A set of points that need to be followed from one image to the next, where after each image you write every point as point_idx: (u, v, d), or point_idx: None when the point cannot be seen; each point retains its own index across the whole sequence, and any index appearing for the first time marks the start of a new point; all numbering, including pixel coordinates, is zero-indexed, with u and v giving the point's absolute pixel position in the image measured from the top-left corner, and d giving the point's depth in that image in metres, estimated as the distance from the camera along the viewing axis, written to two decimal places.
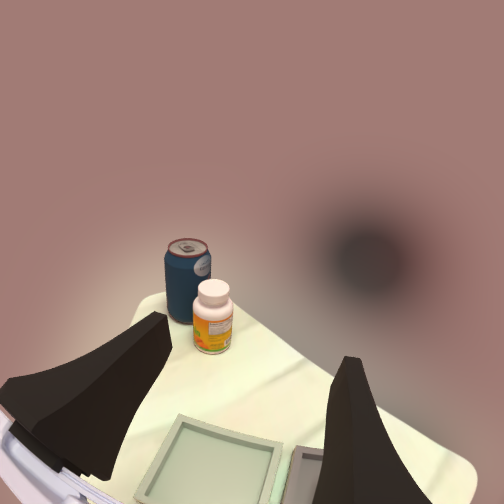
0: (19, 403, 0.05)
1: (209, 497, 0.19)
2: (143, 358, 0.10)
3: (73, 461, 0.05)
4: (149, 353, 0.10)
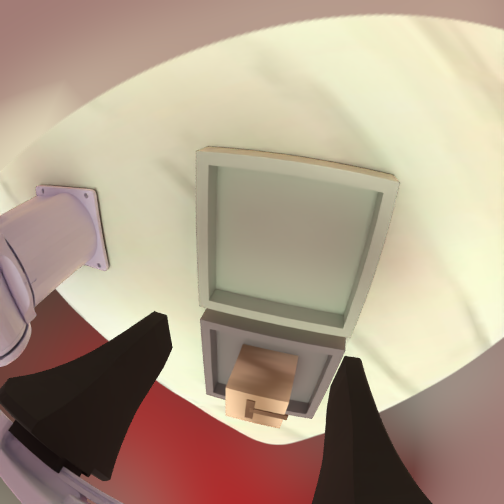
0: (19, 403, 0.05)
1: (253, 244, 0.20)
2: (143, 358, 0.10)
3: (73, 461, 0.05)
4: (149, 353, 0.10)
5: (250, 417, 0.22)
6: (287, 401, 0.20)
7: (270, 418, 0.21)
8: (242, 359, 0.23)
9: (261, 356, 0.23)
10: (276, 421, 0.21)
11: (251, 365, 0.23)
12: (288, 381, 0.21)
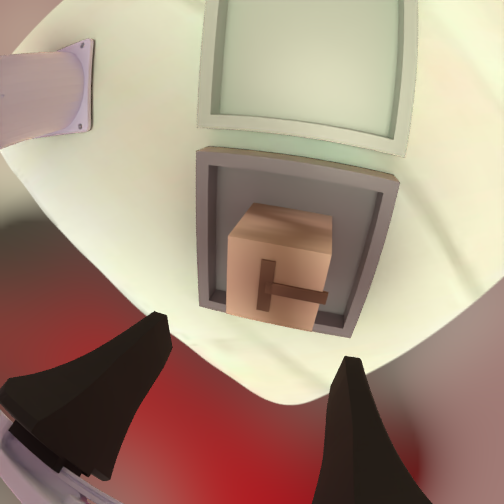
0: (19, 403, 0.05)
1: (269, 44, 0.13)
2: (143, 358, 0.10)
3: (73, 461, 0.05)
4: (149, 353, 0.10)
5: (266, 307, 0.15)
6: (329, 253, 0.13)
7: (299, 306, 0.15)
8: (253, 213, 0.17)
9: (280, 212, 0.17)
10: (308, 313, 0.15)
11: (267, 218, 0.16)
12: (324, 235, 0.15)
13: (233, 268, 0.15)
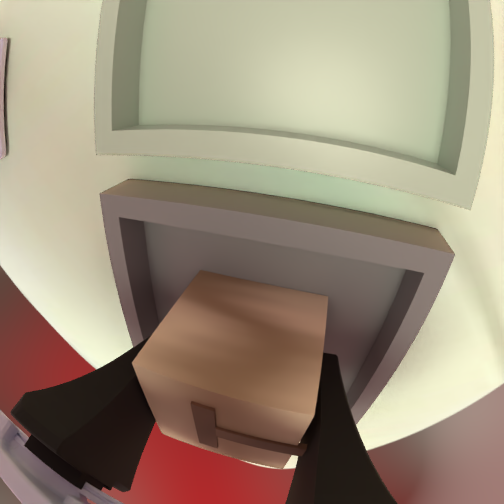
0: (39, 420, 0.04)
1: None
2: None
3: (96, 476, 0.05)
4: None
5: (212, 444, 0.08)
6: (309, 412, 0.06)
7: (261, 451, 0.08)
8: (192, 299, 0.10)
9: (239, 294, 0.10)
10: (276, 457, 0.08)
11: (212, 311, 0.09)
12: (309, 354, 0.08)
13: (154, 399, 0.08)
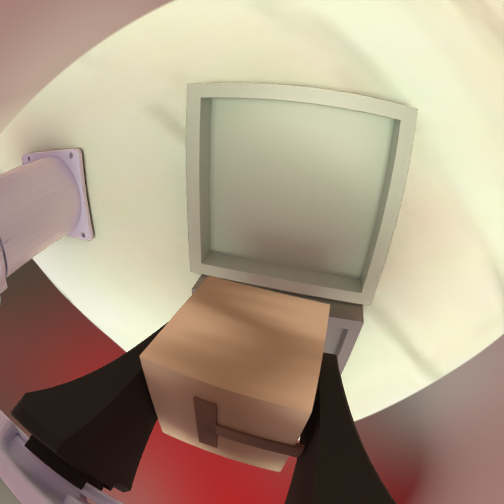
0: (40, 421, 0.04)
1: (253, 192, 0.17)
2: None
3: (97, 476, 0.05)
4: None
5: (212, 444, 0.09)
6: (307, 409, 0.06)
7: (259, 451, 0.08)
8: (199, 301, 0.10)
9: (245, 299, 0.11)
10: (274, 458, 0.08)
11: (218, 314, 0.10)
12: (309, 356, 0.08)
13: (157, 394, 0.08)
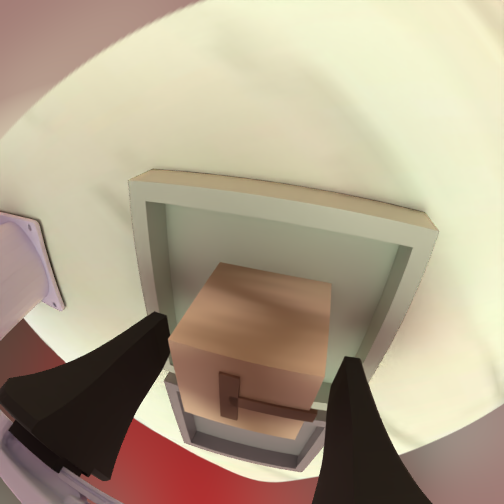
0: (19, 403, 0.05)
1: None
2: (143, 358, 0.10)
3: (73, 461, 0.05)
4: (149, 353, 0.10)
5: (233, 416, 0.10)
6: (320, 374, 0.08)
7: (277, 420, 0.10)
8: (215, 286, 0.11)
9: (255, 282, 0.12)
10: (290, 426, 0.10)
11: (234, 296, 0.11)
12: (317, 329, 0.10)
13: (183, 374, 0.09)
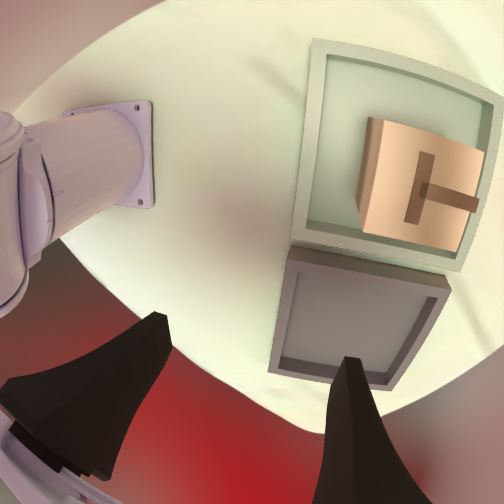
0: (19, 403, 0.05)
1: None
2: (143, 358, 0.10)
3: (73, 461, 0.05)
4: (149, 353, 0.10)
5: (416, 218, 0.11)
6: (481, 151, 0.09)
7: (450, 217, 0.10)
8: None
9: None
10: (457, 226, 0.11)
11: None
12: None
13: (385, 163, 0.10)
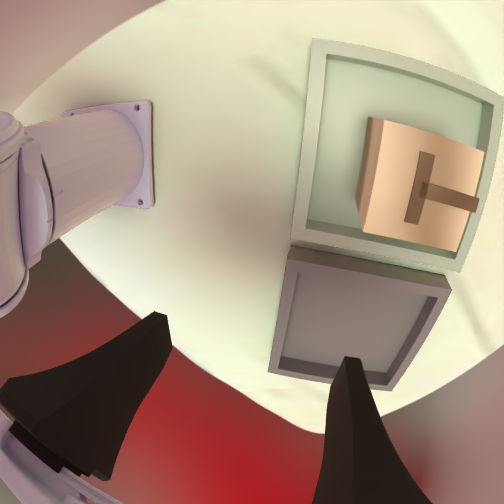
0: (19, 403, 0.05)
1: None
2: (143, 358, 0.10)
3: (73, 461, 0.05)
4: (149, 353, 0.10)
5: (416, 218, 0.11)
6: (481, 151, 0.09)
7: (450, 216, 0.10)
8: None
9: None
10: (457, 225, 0.11)
11: None
12: None
13: (385, 163, 0.10)
